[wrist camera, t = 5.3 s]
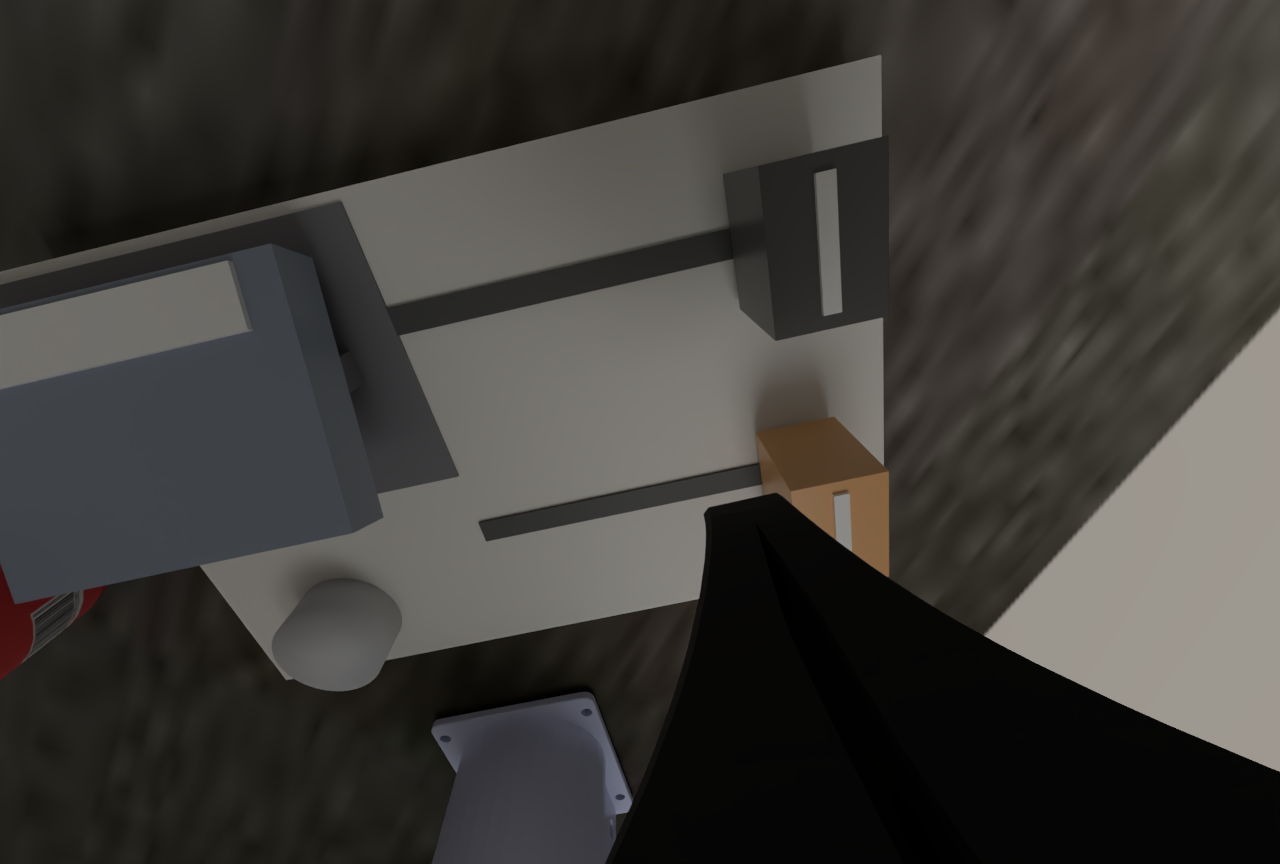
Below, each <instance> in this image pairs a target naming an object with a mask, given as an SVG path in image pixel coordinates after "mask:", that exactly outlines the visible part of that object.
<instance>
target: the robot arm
mask: <svg viewBox="0 0 1280 864" xmlns="http://www.w3.org/2000/svg"><path fill="white" fill-rule="evenodd" d="M703 515H704V519H705V527H706V547H705V561H704V568H703V575H702V582H701V590H700V596H699V601H698V606H697V610H696V615H695V619H694V624H693V628H692V633H691V637H690V642H689V646H688V649H687V653H686V657H685V660H684V664H683V667H682V671H681V674H680V677H679V680H678V684H677V687H676V690H675V693H674V696H673V699H672V702H671V705H670V708H669V711H668V714H667V716H666V719H665V722H664V725H663V727H662V730H661V733H660V736H659V738H658V741H657V744H656V747H655V749H654V752H653V755H652V757H651V760H650V762H649V765H648V767H647V770H646V772H645V775H644V777H643V779H642V782H641V784H640V787H639V789H638V791H637V793H636V795H635V798H634V800H633V798H632V795H631V793H630V790H629V787H628V785H627V782H626V779H625V777H624V774H623V771H622V769H621V766H620V763H619V761H618V758H617V755H616V753H615V750H614V747H613V745H612V742H611V740H610V737H609V734H608V732H607V729H606V726H605V724H604V721H603V718H602V716H601V713H600V710H599V708H598V705H597V702H596V700H595V697H594V696H593V694H591V693H589V692H579V693H573V694H568V695H563V696H557V697H552V698H547V699H542V700H536V701H531V702H526V703H521V704H515V705H510V706H505V707H499V708H494V709H489V710H484V711H478V712H473V713H468V714H463V715H457V716H452V717H447V718H441V719H438V720H436V721H435V722H434V724H433V727H432V730H431V732H432V734H433V736H434V738H435V739H436V741H437V742H438V744H439V746H440V747H441V749H442V751H443V752H444V754H445V755H446V757H447V759H448V760H449V762H450V764H451V765H452V767H453V768H454V770H455V772H456V773H457V774H456V778H455V781H454V785H453V789H452V792H451V796H450V800H449V803H448V807H447V811H446V814H445V818H444V822H443V825H442V829H441V832H440V836H439V840H438V843H437V847H436V851H435V854H434V858H433V862H432V864H1280V772H1279V771H1276V770H1274V769H1271V768H1269V767H1266V766H1264V765H1262V764H1259V763H1257V762H1254V761H1252V760H1250V759H1247V758H1245V757H1242V756H1240V755H1238V754H1235V753H1233V752H1231V751H1228V750H1226V749H1224V748H1221V747H1219V746H1217V745H1214V744H1212V743H1209V742H1207V741H1205V740H1202V739H1200V738H1198V737H1195V736H1193V735H1190V734H1188V733H1186V732H1183V731H1181V730H1179V729H1176V728H1174V727H1171V726H1169V725H1167V724H1164V723H1162V722H1160V721H1158V720H1156V719H1153V718H1151V717H1149V716H1147V715H1144V714H1142V713H1140V712H1138V711H1135V710H1133V709H1131V708H1129V707H1127V706H1124V705H1122V704H1120V703H1118V702H1115V701H1113V700H1111V699H1109V698H1107V697H1105V696H1103V695H1101V694H1099V693H1097V692H1095V691H1093V690H1091V689H1088V688H1086V687H1084V686H1082V685H1080V684H1078V683H1076V682H1074V681H1072V680H1070V679H1067V678H1065V677H1063V676H1061V675H1059V674H1057V673H1055V672H1053V671H1051V670H1049V669H1047V668H1044V667H1042V666H1040V665H1038V664H1036V663H1034V662H1032V661H1030V660H1028V659H1026V658H1024V657H1023V656H1021V655H1018V654H1017V653H1015V652H1013V651H1011V650H1009V649H1007V648H1005V647H1003V646H1001V645H999V644H997V643H995V642H994V641H992V640H990V639H988V638H987V637H985V636H983V635H981V634H980V633H978V632H976V631H974V630H972V629H971V628H969V627H967V626H965V625H963V624H962V623H960V622H958V621H956V620H955V619H953V618H951V617H950V616H948V615H946V614H945V613H943V612H941V611H940V610H938V609H936V608H935V607H933V606H931V605H930V604H928V603H927V602H925V601H923V600H922V599H920V598H919V597H917V596H915V595H914V594H912V593H911V592H909V591H908V590H906V589H905V588H903V587H902V586H900V585H899V584H897V583H896V582H894V581H892V580H891V579H889V578H888V577H887V576H885V575H884V574H882V573H881V572H879V571H878V570H876V569H875V568H873V567H872V566H871V565H869V564H868V563H866V562H865V561H864V560H862V559H861V558H860V557H858V556H857V555H856V554H854V553H853V552H851V551H850V550H849V549H847V548H846V547H845V546H843V545H842V544H840V543H839V542H838V541H837V540H835V539H834V538H833V537H831V536H830V535H829V534H827V533H826V532H825V531H824V530H822V529H821V528H820V527H819V526H817V525H816V524H815V523H814V522H812V521H811V520H810V519H809V518H808V517H806V516H805V515H804V514H803V513H802V512H800V511H799V510H798V509H797V508H796V507H794V506H793V505H792V504H791V503H790V502H789V501H787V500H786V499H785V498H784V497H783V496H781V495H780V494H778V493H777V492H776V493H771V494H767V495H762V496H758V497H753V498H749V499H744V500H740V501H735V502H731V503H726V504H721V505H717V506H712V507H708V509H707V510H706V511H705V513H704V514H703ZM626 812H628V813H627V815H626V818H625V820H624V822H623V824H622V827H621V829H620V831H619V833H618V835H617V838H616V814H620V813H626Z"/></svg>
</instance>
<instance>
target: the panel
mask: <svg viewBox="0 0 1280 864" xmlns="http://www.w3.org/2000/svg"><path fill="white" fill-rule="evenodd" d="M879 137H882V88H881V55H878V56H874V57H870V58H866V59H862V60H858V61H854V62H850V63H845V64H841V65H837V66H833V67H829V68H825V69H821V70H817V71H813V72H809V73H805V74H801V75H797V76H793V77H789V78H785V79H781V80H776V81H772V82H768V83H764V84H760V85H756V86H752V87H748V88H744V89H740V90H736V91H732V92H728V93H724V94H720V95H716V96H712V97H707V98H703V99H699V100H695V101H691V102H687V103H683V104H679V105H675V106H671V107H667V108H663V109H659V110H655V111H651V112H647V113H643V114H638V115H634V116H630V117H626V118H622V119H618V120H614V121H610V122H606V123H602V124H598V125H594V126H590V127H586V128H582V129H578V130H574V131H569V132H565V133H561V134H557V135H553V136H549V137H545V138H541V139H537V140H533V141H529V142H525V143H521V144H517V145H513V146H509V147H505V148H500V149H496V150H492V151H488V152H484V153H480V154H476V155H472V156H468V157H464V158H460V159H456V160H452V161H448V162H444V163H440V164H436V165H431V166H427V167H423V168H419V169H415V170H411V171H407V172H403V173H399V174H395V175H391V176H387V177H383V178H379V179H375V180H371V181H367V182H362V183H358V184H354V185H350V186H346V187H342V188H338V189H334V190H330V191H326V192H322V193H318V194H314V195H310V196H306V197H302V198H298V199H293V200H289V201H285V202H281V203H277V204H273V205H269V206H265V207H261V208H257V209H253V210H249V211H245V212H241V213H237V214H233V215H229V216H224V217H220V218H216V219H212V220H208V221H204V222H200V223H196V224H192V225H188V226H184V227H180V228H176V229H172V230H168V231H164V232H160V233H155V234H151V235H147V236H143V237H139V238H135V239H131V240H127V241H123V242H119V243H115V244H111V245H107V246H103V247H99V248H95V249H91V250H86V251H82V252H78V253H74V254H70V255H66V256H62V257H58V258H54V259H50V260H46V261H42V262H38V263H34V264H30V265H26V266H22V267H17V268H13V269H9V270H5V271H1V272H0V308H1V309H2V308H7V307H11V306H15V305H19V304H23V303H27V302H31V301H35V300H40V299H44V298H48V297H52V296H56V295H60V294H64V293H68V292H73V291H77V290H81V289H85V288H89V287H93V286H97V285H101V284H106V283H110V282H114V281H118V280H122V279H126V278H130V277H134V276H139V275H143V274H147V273H151V272H155V271H159V270H163V269H167V268H172V267H176V266H180V265H184V264H188V263H192V262H196V261H200V260H205V259H209V258H213V257H217V256H221V255H225V254H229V253H233V252H238V251H242V250H246V249H250V248H254V247H258V246H262V245H266V244H271V243H272V244H274V245H277V246H280V247H283V248H286V249H289V250H291V251H294V252H297V253H300V254H303V255H306V256H308V257H311V258H312V259H313V262H314V266H315V269H316V273H317V277H318V280H319V284H320V288H321V291H322V295H323V298H324V302H325V306H326V309H327V313H328V317H329V320H330V324H331V327H332V331H333V335H334V338H335V342H336V346H337V349H338V353H339V357H340V360H341V364H342V367H343V371H344V375H345V378H346V382H347V386H348V389H349V393H350V396H351V400H352V404H353V407H354V411H355V415H356V418H357V422H358V425H359V429H360V433H361V436H362V440H363V444H364V447H365V451H366V454H367V458H368V462H369V465H370V469H371V473H372V476H373V480H374V484H375V487H376V491H377V494H378V498H379V502H380V505H381V509H382V513H383V516H384V518H382V519H380V520H378V521H376V522H374V523H372V524H370V525H368V526H366V527H364V528H362V529H360V530H358V531H356V532H354V533H351V534H347V535H342V536H337V537H332V538H328V539H323V540H318V541H313V542H309V543H304V544H299V545H294V546H290V547H285V548H280V549H275V550H271V551H266V552H261V553H256V554H252V555H247V556H242V557H237V558H233V559H228V560H223V561H218V562H214V563H209V564H204V565H200V567H201V568H202V569H203V571H204V572H205V573H206V575H207V576H208V577H209V579H210V580H211V581H212V583H213V584H214V585H215V587H216V588H217V589H218V590H219V592H220V593H221V594H222V596H223V597H224V598H225V600H226V601H227V602H228V604H229V605H230V606H231V608H232V609H233V610H234V612H235V613H236V614H237V616H238V617H239V618H240V620H241V621H242V622H243V624H244V625H245V626H246V628H247V629H248V630H249V632H250V633H251V634H252V636H253V637H254V638H255V639H256V641H257V642H258V643H259V645H260V646H261V647H262V649H263V650H264V651H265V653H266V654H267V655H268V657H269V658H270V659H271V661H272V662H273V663H274V665H275V666H276V667H277V669H278V670H279V671H280V673H281V674H282V675H283V677H284V678H285V679H286V680H289V679H295V680H297V681H299V682H301V683H303V684H305V685H308V686H310V687H314V688H317V689H322V690H328V691H348V690H353V689H357V688H360V687H363V686H365V685H367V684H368V683H370V682H371V681H373V680H374V679H375V678H376V677H377V675H378V674H379V672H380V670H381V668H382V666H383V664H384V662H385V661H386V660H391V659H396V658H401V657H406V656H411V655H416V654H421V653H426V652H431V651H436V650H442V649H447V648H452V647H457V646H462V645H467V644H472V643H477V642H482V641H487V640H492V639H497V638H503V637H508V636H513V635H518V634H523V633H528V632H533V631H538V630H543V629H548V628H553V627H558V626H564V625H569V624H574V623H579V622H584V621H589V620H594V619H599V618H604V617H609V616H614V615H619V614H625V613H630V612H635V611H640V610H645V609H650V608H655V607H660V606H665V605H670V604H675V603H680V602H686V601H691V600H696V599H699V596H700V590H701V582H702V575H703V568H704V561H705V547H706V527H705V519H704V515H703V514H704V513H705V511H706V510H707V509H708V507H712V506H717V505H721V504H726V503H731V502H735V501H740V500H744V499H749V498H753V497H758V496H762V495H764V493H763V485H762V477H761V470H760V462H759V454H758V446H757V438H756V433H759V432H763V431H768V430H773V429H778V428H782V427H787V426H792V425H796V424H801V423H806V422H811V421H815V420H820V419H825V418H830V417H835V418H836V419H837V420H838V421H839V422H840V423H841V424H842V425H843V426H844V427H845V428H846V429H847V430H848V431H849V432H850V433H851V434H852V435H853V436H854V437H855V438H856V439H857V440H858V441H859V442H860V443H861V444H862V445H863V446H864V447H865V448H866V449H867V450H868V451H869V452H870V453H871V454H872V455H873V456H874V457H875V458H876V459H877V460H878V461H879V462H880V463H881V464H882V465H883V466H884V414H883V318H878V319H874V320H869V321H865V322H860V323H855V324H851V325H846V326H842V327H837V328H833V329H828V330H824V331H819V332H815V333H810V334H806V335H801V336H797V337H792V338H787V339H783V340H778V341H775V340H774V339H773V338H772V337H770V336H769V335H768V334H767V333H766V332H765V331H764V330H763V329H761V328H760V327H759V326H758V325H757V324H756V323H755V322H754V321H753V320H751V319H750V318H749V317H748V316H747V315H746V314H745V313H744V312H742V311H741V310H740V306H739V298H738V290H737V282H736V275H735V267H734V259H733V251H732V243H731V236H730V228H729V220H728V212H727V204H726V197H725V189H724V181H723V174H725V173H729V172H733V171H737V170H742V169H746V168H750V167H754V166H758V165H763V164H767V163H771V162H775V161H779V160H784V159H788V158H792V157H796V156H800V155H805V154H809V153H813V152H817V151H821V150H826V149H830V148H835V147H839V146H843V145H848V144H852V143H857V142H861V141H865V140H870V139H874V138H879Z"/></svg>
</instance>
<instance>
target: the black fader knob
mask: <svg viewBox="0 0 1280 864" xmlns="http://www.w3.org/2000/svg"><path fill="white" fill-rule="evenodd" d="M723 181H724V189H725V197H726V204H727V212H728V220H729V228H730V236H731V243H732V251H733V259H734V267H735V275H736V282H737V290H738V298H739V306H740V310H741V311H742V312H744V313H745V314H746V315H747V316H748V317H749V318H750V319H751V320H753V321H754V322H755V323H756V324H757V325H758V326H759V327H760V328H761V329H763V330H764V331H765V332H766V333H767V334H768V335H769V336H770V337H772V338H773V339H774V340H775V341H778V340H783V339H787V338H792V337H797V336H801V335H806V334H810V333H815V332H819V331H824V330H828V329H833V328H837V327H842V326H846V325H851V324H855V323H860V322H865V321H869V320H874V319H878V318H883V317H887V316H889V152H888V135H887V136H883V137H879V138H874V139H870V140H865V141H861V142H857V143H852V144H848V145H843V146H839V147H835V148H830V149H826V150H821V151H817V152H813V153H809V154H805V155H800V156H796V157H792V158H788V159H784V160H779V161H775V162H771V163H767V164H763V165H758V166H754V167H750V168H746V169H742V170H737V171H733V172H729V173H725V174H723Z"/></svg>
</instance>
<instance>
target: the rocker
mask: <svg viewBox="0 0 1280 864" xmlns="http://www.w3.org/2000/svg"><path fill="white" fill-rule="evenodd" d="M382 518H384V516H383V513H382V509H381V505H380V502H379V498H378V494H377V491H376V487H375V484H374V480H373V476H372V473H371V469H370V465H369V462H368V458H367V454H366V451H365V447H364V444H363V440H362V436H361V433H360V429H359V425H358V422H357V418H356V415H355V411H354V407H353V404H352V400H351V396H350V393H349V389H348V386H347V382H346V378H345V375H344V371H343V367H342V364H341V360H340V357H339V353H338V349H337V346H336V342H335V338H334V335H333V331H332V327H331V324H330V320H329V317H328V313H327V309H326V306H325V302H324V298H323V295H322V291H321V288H320V284H319V280H318V277H317V273H316V269H315V266H314V262H313V259H312V258H311V257H308V256H306V255H303V254H300V253H297V252H294V251H291V250H289V249H286V248H283V247H280V246H277V245H274V244H272V243H271V244H266V245H262V246H258V247H254V248H250V249H246V250H242V251H238V252H233V253H229V254H225V255H221V256H217V257H213V258H209V259H205V260H200V261H196V262H192V263H188V264H184V265H180V266H176V267H172V268H167V269H163V270H159V271H155V272H151V273H147V274H143V275H139V276H134V277H130V278H126V279H122V280H118V281H114V282H110V283H106V284H101V285H97V286H93V287H89V288H85V289H81V290H77V291H73V292H68V293H64V294H60V295H56V296H52V297H48V298H44V299H40V300H35V301H31V302H27V303H23V304H19V305H15V306H11V307H7V308H2V309H0V564H1V567H2V570H3V572H4V575H5V578H6V581H7V584H8V586H9V589H10V592H11V595H12V598H13V600H14V603H15V604H19V603H24V602H28V601H33V600H38V599H43V598H47V597H52V596H57V595H62V594H66V593H71V592H76V591H81V590H85V589H90V588H95V587H100V586H104V585H109V584H114V583H119V582H123V581H128V580H133V579H138V578H142V577H147V576H152V575H157V574H161V573H166V572H171V571H176V570H180V569H185V568H190V567H195V566H199V565H204V564H209V563H214V562H218V561H223V560H228V559H233V558H237V557H242V556H247V555H252V554H256V553H261V552H266V551H271V550H275V549H280V548H285V547H290V546H294V545H299V544H304V543H309V542H313V541H318V540H323V539H328V538H332V537H337V536H342V535H347V534H351V533H354V532H356V531H358V530H360V529H362V528H364V527H366V526H368V525H370V524H372V523H374V522H376V521H378V520H380V519H382Z"/></svg>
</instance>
